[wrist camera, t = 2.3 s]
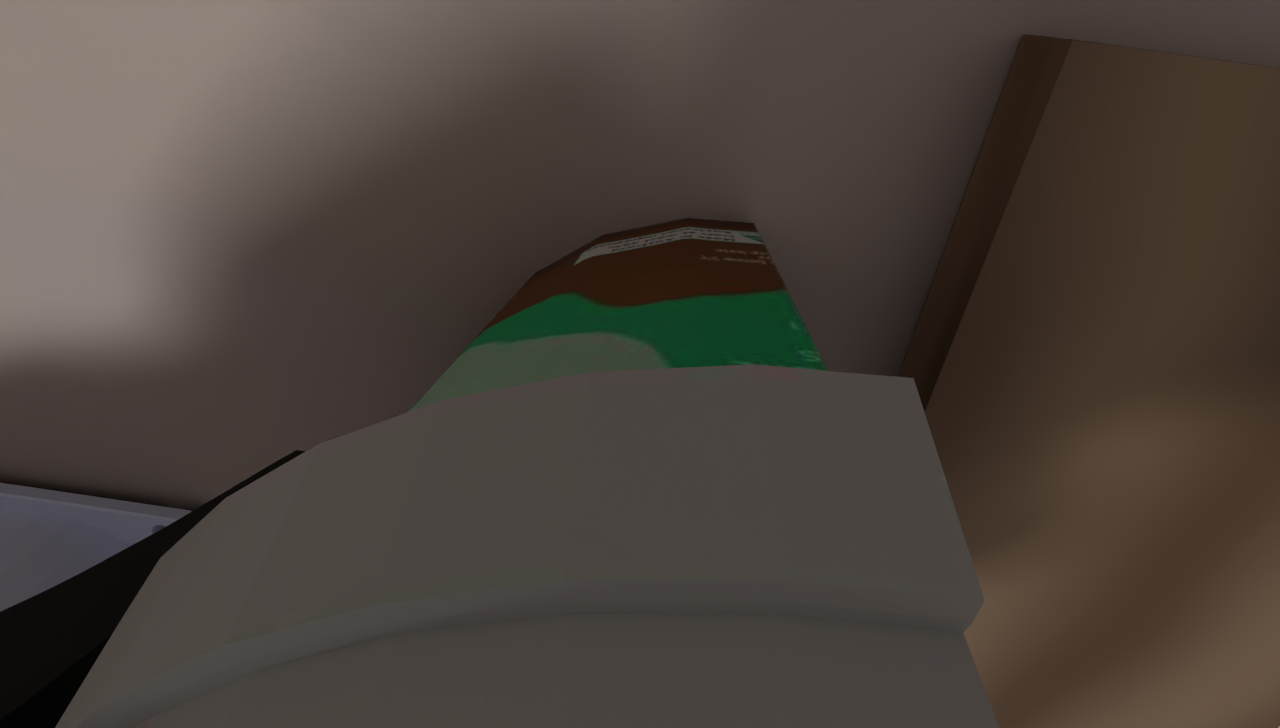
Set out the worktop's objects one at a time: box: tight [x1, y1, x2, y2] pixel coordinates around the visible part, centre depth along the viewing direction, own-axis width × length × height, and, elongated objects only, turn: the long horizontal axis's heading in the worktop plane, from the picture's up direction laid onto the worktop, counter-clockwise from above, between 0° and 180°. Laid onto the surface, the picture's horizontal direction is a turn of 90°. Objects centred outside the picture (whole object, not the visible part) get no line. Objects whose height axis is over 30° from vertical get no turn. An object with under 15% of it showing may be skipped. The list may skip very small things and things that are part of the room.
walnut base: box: [899, 35, 1280, 728], centre depth 13 cm, size 10×16×2 cm, turn 173°
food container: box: [55, 218, 999, 728], centre depth 9 cm, size 12×6×10 cm, turn 172°
